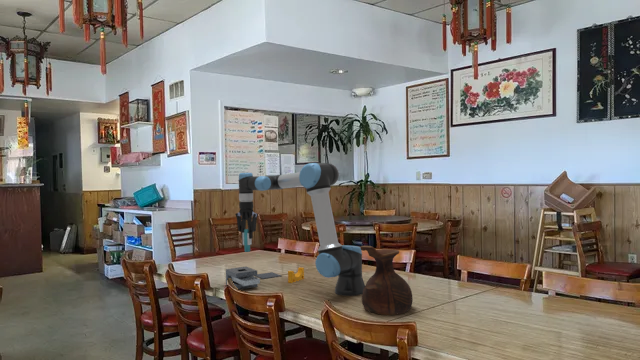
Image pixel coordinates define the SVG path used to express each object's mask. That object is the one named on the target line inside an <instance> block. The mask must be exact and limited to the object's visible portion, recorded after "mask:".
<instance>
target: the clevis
mask: <svg viewBox="0 0 640 360" xmlns="http://www.w3.org/2000/svg"><path fill="white" fill-rule="evenodd" d="M257 274H258V270H257V269H254V268H251V267H249V266H240V267H232V268H225V285H226V286H227V280H228V278H231V279H232V281H233V283H234V285H235V286H236V287H237V288H238V289H239V290H244V289H252V288H257V287H258V285H259V284H261V278H258V277H256V275H257Z"/></svg>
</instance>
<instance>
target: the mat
mask: <svg viewBox="0 0 640 360" xmlns="http://www.w3.org/2000/svg"><path fill="white" fill-rule="evenodd" d="M255 277H257V278H259V279H260V280H261V279H262V280H267V279H273V278H274V279H275V278H280V277H282V275H281V274H278V273H275V272H272V271H271V272H264V273H257V275H256V276H255Z"/></svg>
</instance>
